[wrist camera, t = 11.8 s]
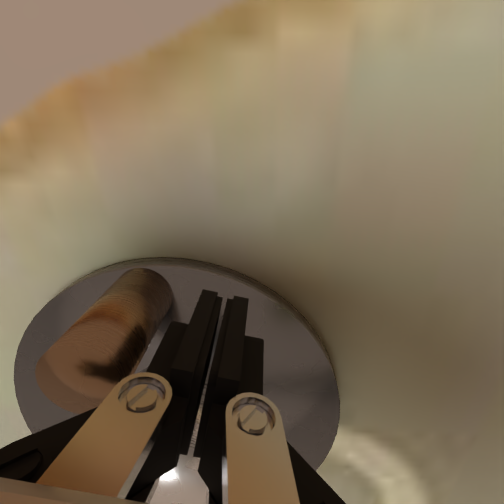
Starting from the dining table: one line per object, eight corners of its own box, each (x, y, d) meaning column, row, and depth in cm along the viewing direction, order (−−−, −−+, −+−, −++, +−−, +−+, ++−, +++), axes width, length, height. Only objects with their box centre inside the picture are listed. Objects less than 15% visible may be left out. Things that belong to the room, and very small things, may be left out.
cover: (199, 341, 14) (174, 417, 10) (267, 428, 16) (267, 520, 12) (98, 391, 16) (45, 474, 12) (171, 467, 17) (145, 560, 14)
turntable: (225, 188, 13) (191, 237, 7) (386, 443, 17) (442, 594, 12) (-38, 350, 16) (-196, 467, 11) (154, 525, 21) (112, 670, 15)
